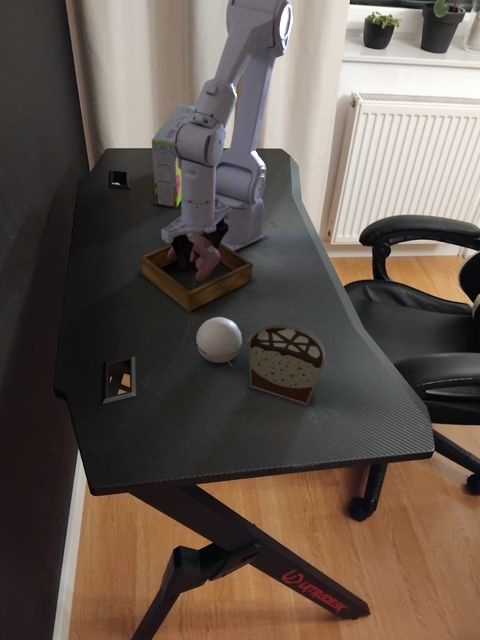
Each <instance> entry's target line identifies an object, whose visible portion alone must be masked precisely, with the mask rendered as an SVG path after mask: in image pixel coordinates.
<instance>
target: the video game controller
mask: <svg viewBox="0 0 480 640" xmlns="http://www.w3.org/2000/svg"><path fill="white" fill-rule="evenodd" d="M187 237H188V240H190V241H191V242H193V243H194V246H193V248H192V252H191V256H190V263H195V267H196V269H197V272H196V274H195V281H196V282H197V283H201V282H203V281H205V280H206V279H207V278H208V277H209V276H210V275H211V273H212V272H213V271H214V269H215V268H216V267H217V266H218V265H219V263H220V254H219V251H218V250H217V249H215V247H214V246H213V244H212V243H211V242H210V241H209V240H208V239H206V238H205V237H203V236H201V235H198V234H197V233H190V234H187ZM198 255H199V257H198ZM167 259H168V260H169V261H173V260H175V259H177V256H176V253H175V251H174V249H173V247H172V248H171V249H170V250H169V252H168V255H167Z"/></svg>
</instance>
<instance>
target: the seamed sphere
mask: <svg viewBox="0 0 480 640" xmlns="http://www.w3.org/2000/svg"><path fill="white" fill-rule="evenodd" d="M194 338H195V339H194V342H195V345H196V349H197V350H198V352H199V354H200V355H201V356H202V357H203V358H204V359H205V360H207V361H209V362H212V363H215V364H223V363H227V362H228V363H229V362H230V361H231V360H233V359H234V358H235V357H236V356H237V355H238V354H239V353H240V350H241V348H242V347H243V338H242V332H241V331H240V329H239V327H238V325H237V323H235V322H234V321H233V320H231V319H228V318H226V317H222V316H217V317H212V318H210V319H207V320H205V321H204V322H203V323H202V324H201V325H200V327H199V329H198V331H197V333H196V336H195V337H194ZM229 365H230V366H231V367H233V366H232V364H231V363H229Z"/></svg>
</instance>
